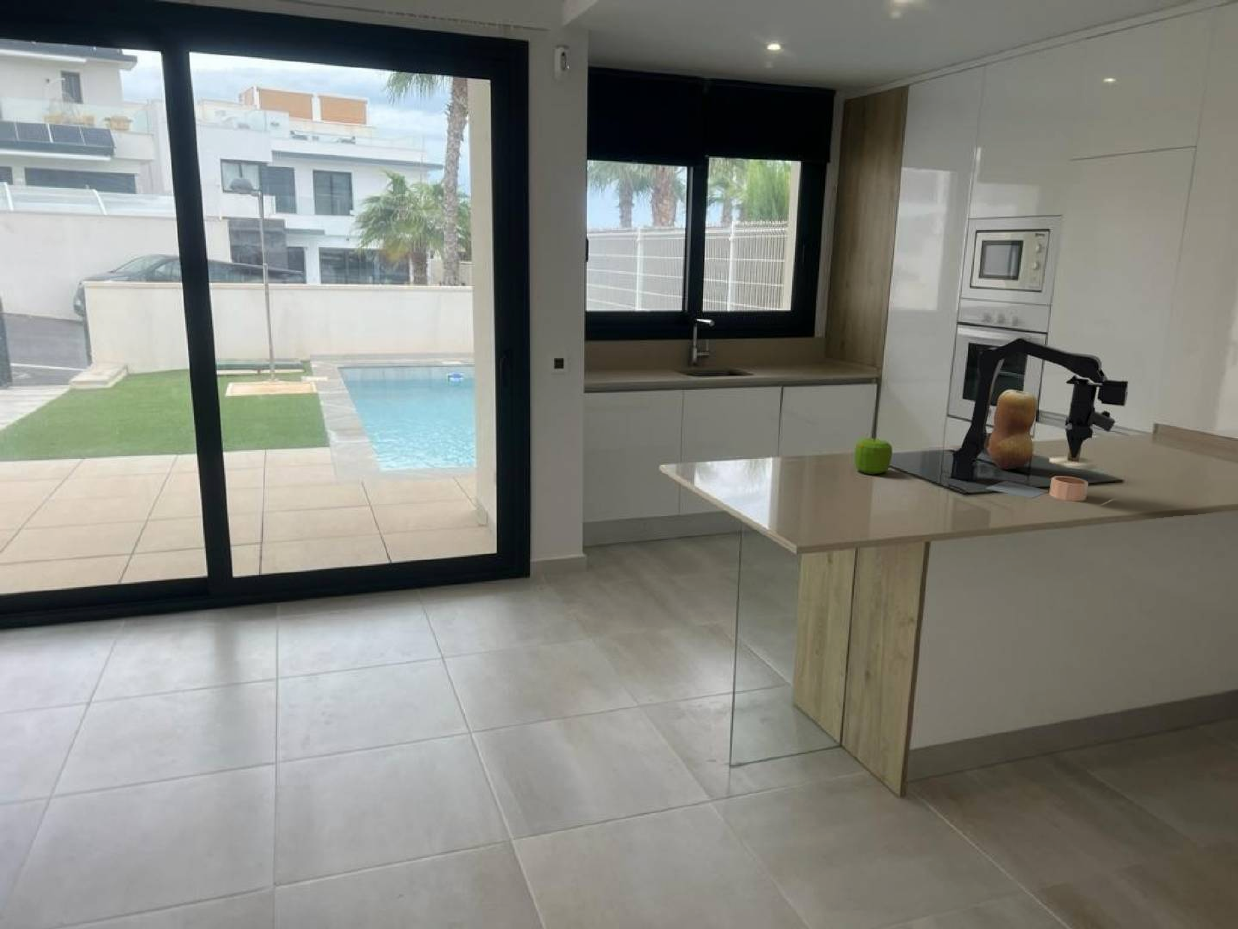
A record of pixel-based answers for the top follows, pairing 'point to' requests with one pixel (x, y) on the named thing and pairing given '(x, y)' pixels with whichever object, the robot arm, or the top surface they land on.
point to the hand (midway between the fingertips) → (1073, 456)
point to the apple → (872, 455)
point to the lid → (1073, 461)
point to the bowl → (1068, 488)
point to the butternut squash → (1012, 429)
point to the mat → (1017, 489)
